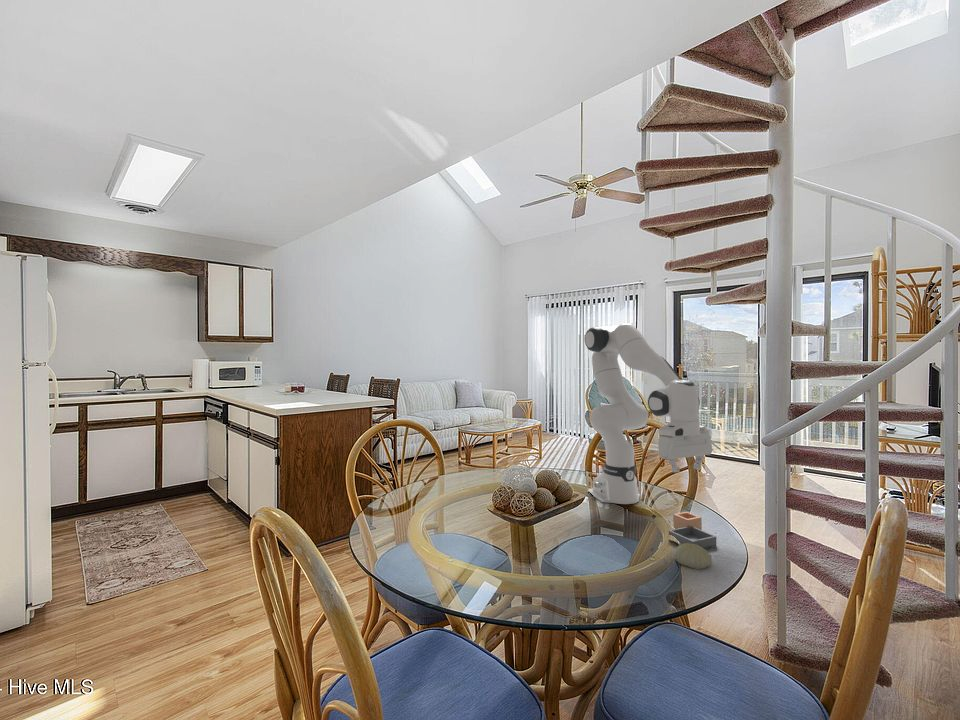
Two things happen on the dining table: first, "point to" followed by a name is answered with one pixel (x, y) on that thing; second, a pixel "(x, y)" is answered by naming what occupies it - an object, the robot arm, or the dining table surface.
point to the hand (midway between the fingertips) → (686, 470)
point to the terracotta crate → (686, 520)
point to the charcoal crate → (694, 537)
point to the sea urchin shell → (693, 556)
